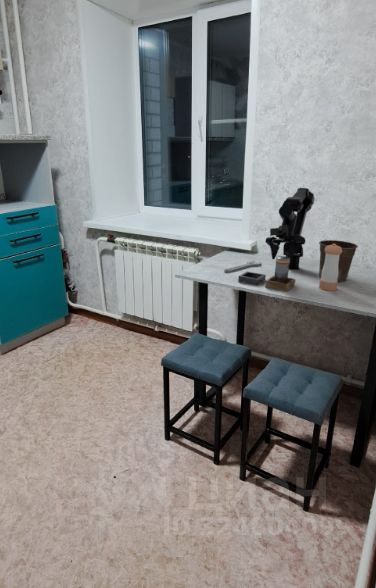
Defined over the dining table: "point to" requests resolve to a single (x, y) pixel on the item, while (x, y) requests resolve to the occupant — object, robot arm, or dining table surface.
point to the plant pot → (344, 257)
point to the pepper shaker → (330, 268)
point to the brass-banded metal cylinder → (281, 269)
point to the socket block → (252, 278)
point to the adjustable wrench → (242, 266)
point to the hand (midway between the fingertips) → (280, 258)
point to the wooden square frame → (280, 284)
